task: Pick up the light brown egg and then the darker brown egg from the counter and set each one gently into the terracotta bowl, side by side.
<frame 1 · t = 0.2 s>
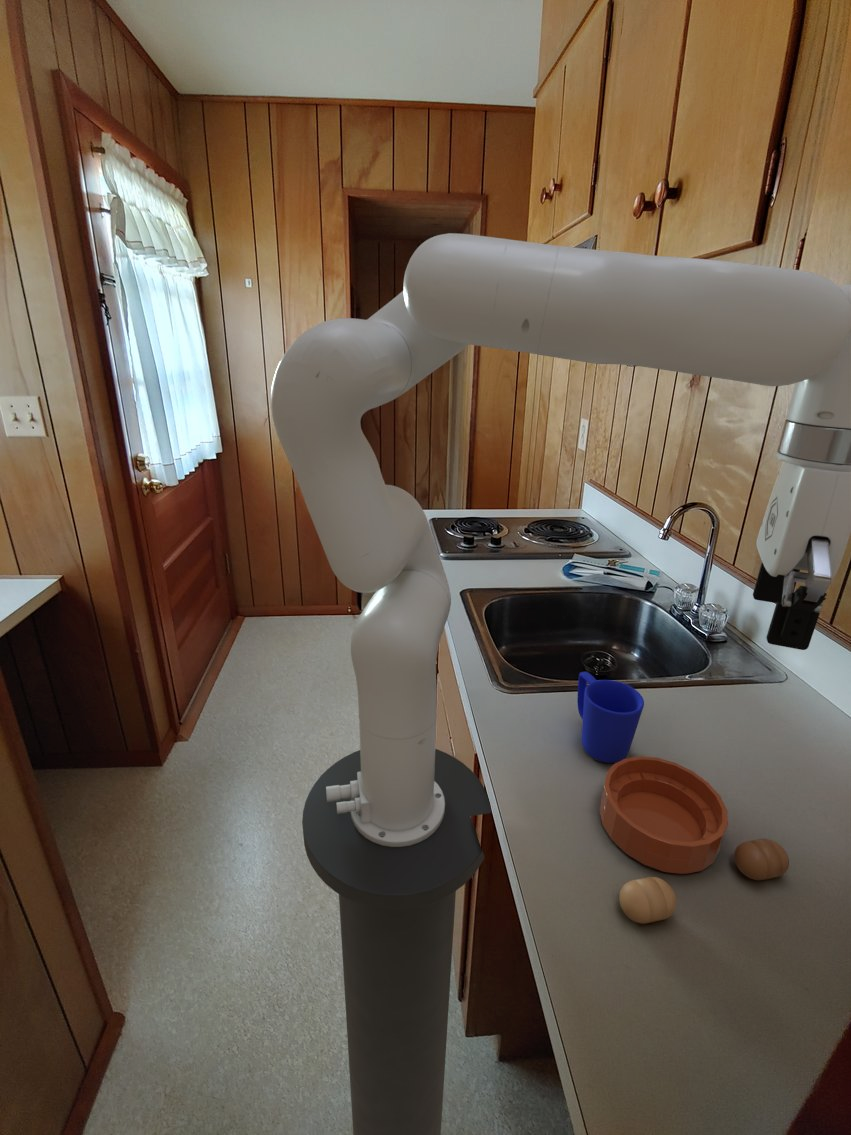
hand: (777, 621, 54), 32 cm above the worktop, tool pointing down, fingers open, 9 cm apart
bowl: (656, 826, 70), on the worktop
egg dark: (756, 871, 65), on the worktop
egg light: (644, 912, 60), on the worktop
mug: (596, 743, 85), on the worktop
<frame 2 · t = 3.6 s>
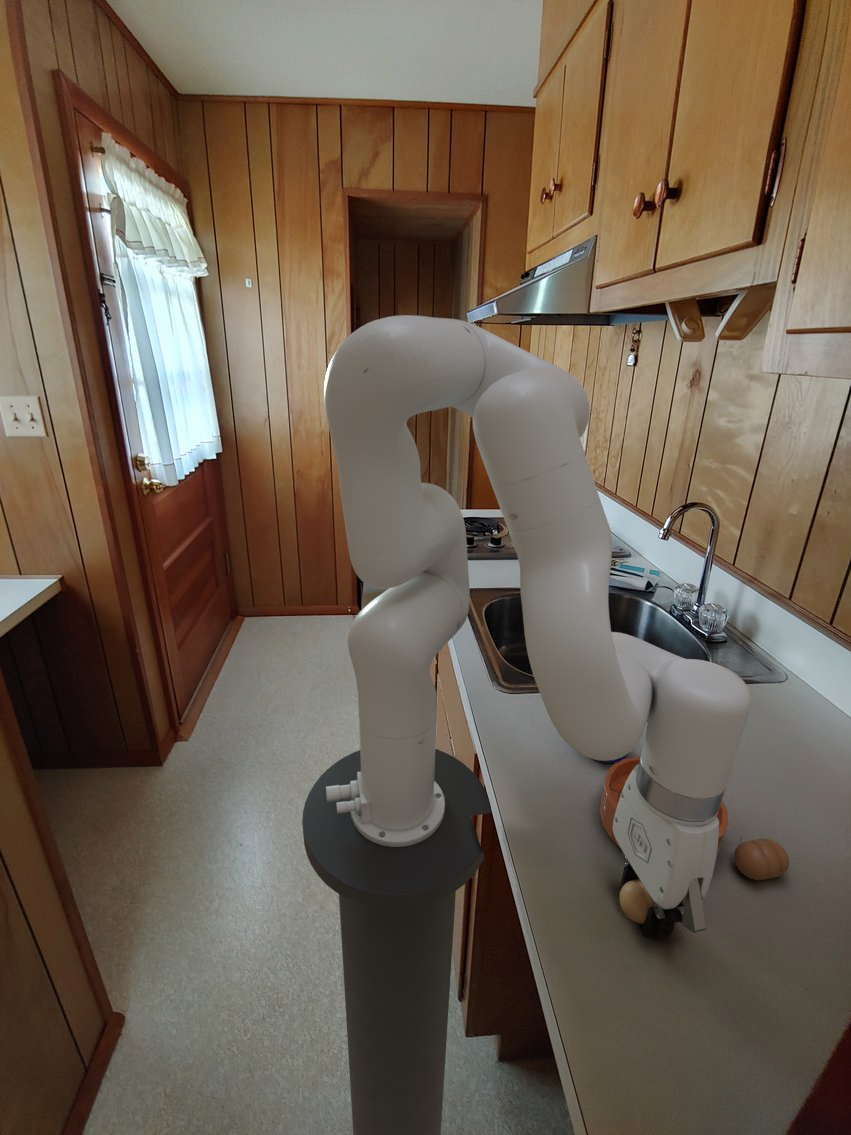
hand: (644, 910, 60), 0 cm above the worktop, tool pointing down, fingers closed on egg light, 4 cm apart
egg light: (644, 912, 60), on the worktop, touching gripper
everything else where it was.
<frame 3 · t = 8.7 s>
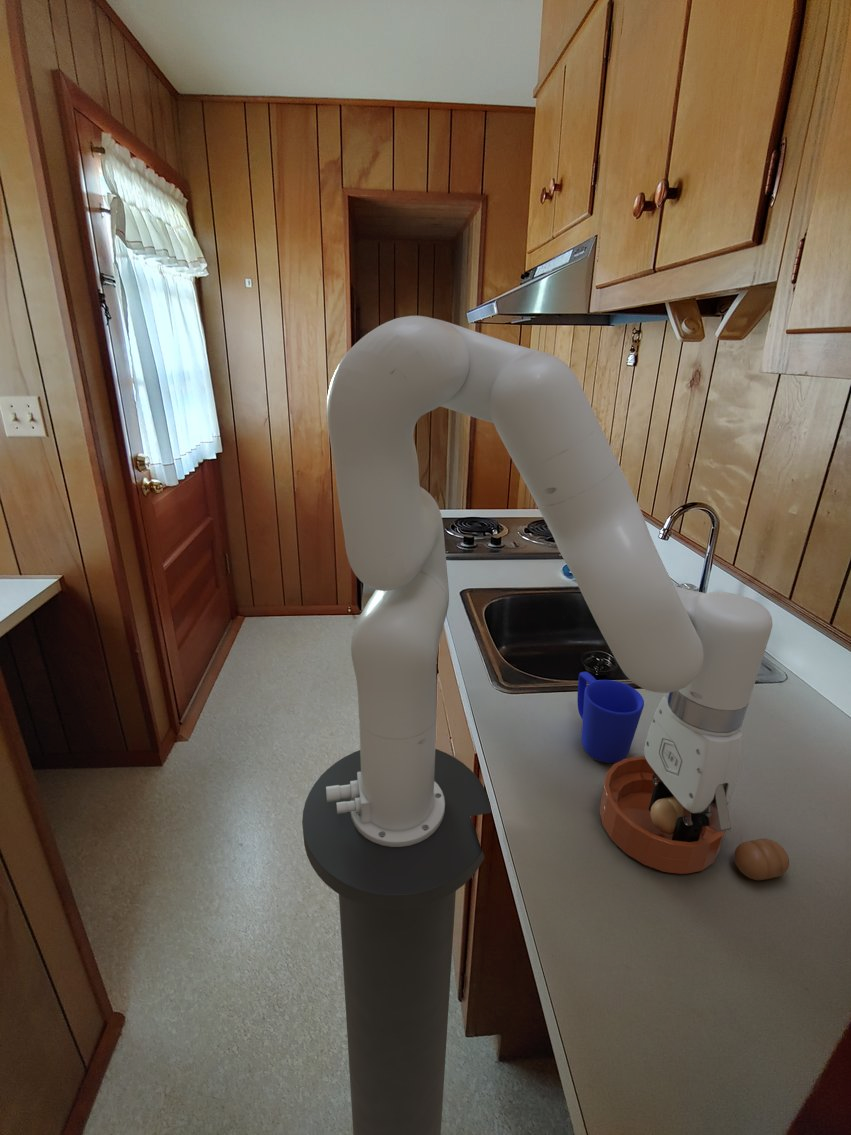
hand: (672, 824, 67), 3 cm above the worktop, tool pointing down, fingers closed on egg light, 4 cm apart
egg light: (672, 826, 67), point 3 cm above the worktop, touching gripper
everything else where it was.
when the fingers open (5 cm above the worktop, at t = 16.9 s): egg light drops 4 cm, resting on bowl.
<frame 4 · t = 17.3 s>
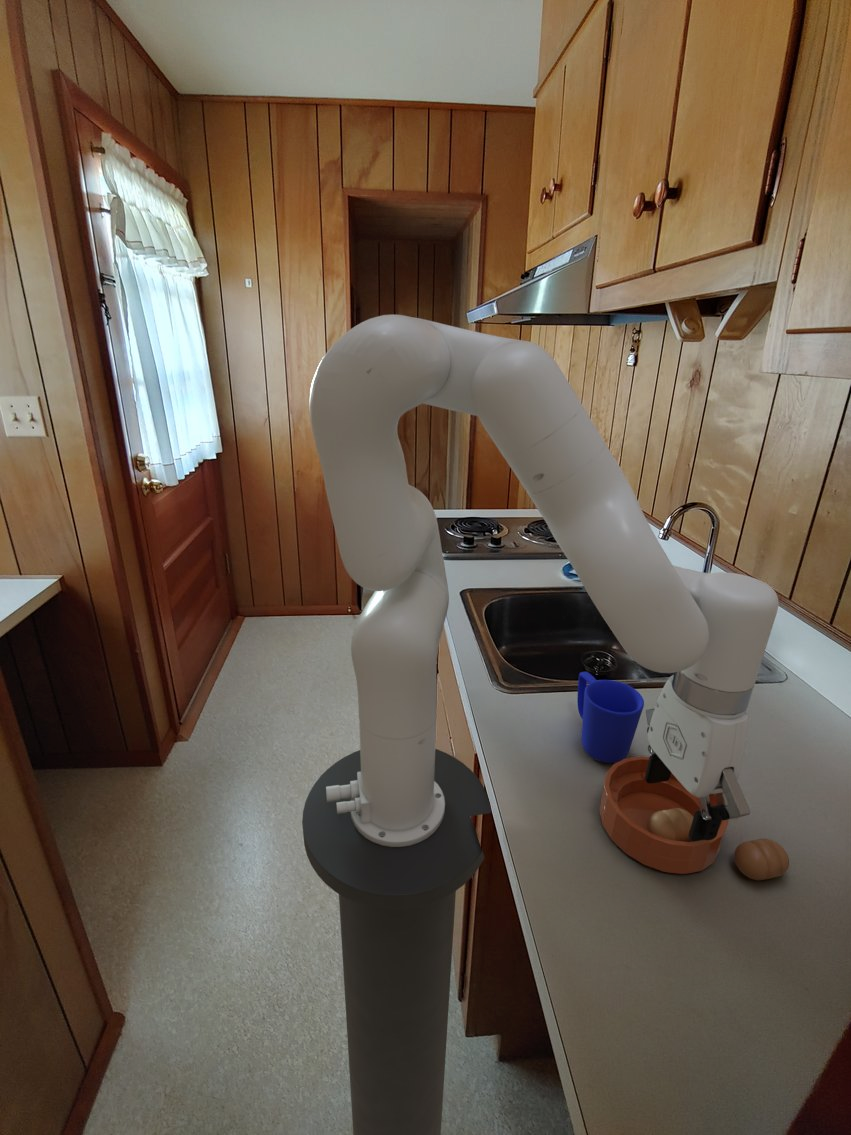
hand: (678, 806, 66), 6 cm above the worktop, tool pointing down, fingers open, 8 cm apart
egg light: (670, 840, 68), point 1 cm above the worktop, touching bowl
everything else where it was.
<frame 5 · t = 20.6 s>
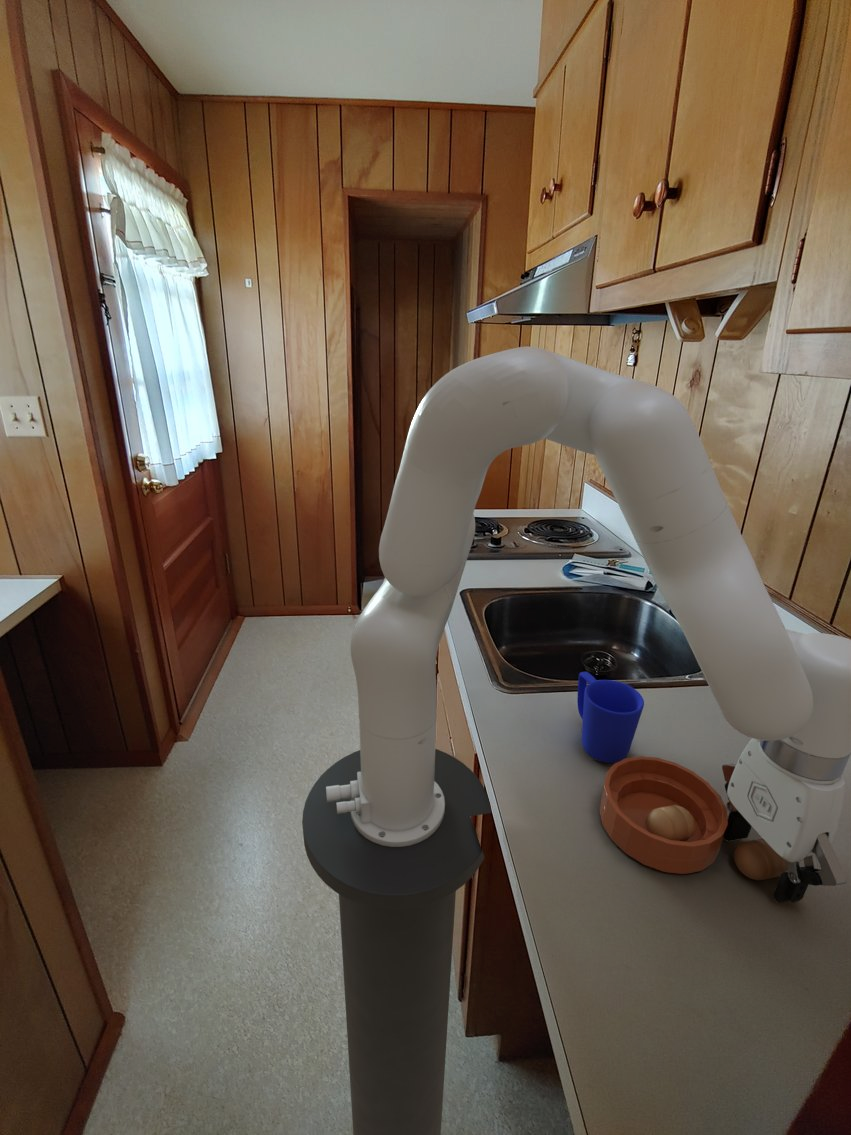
hand: (759, 865, 64), 1 cm above the worktop, tool pointing down, fingers open, 7 cm apart
egg light: (670, 839, 68), point 1 cm above the worktop, tilted 17°, touching bowl
everything else where it was.
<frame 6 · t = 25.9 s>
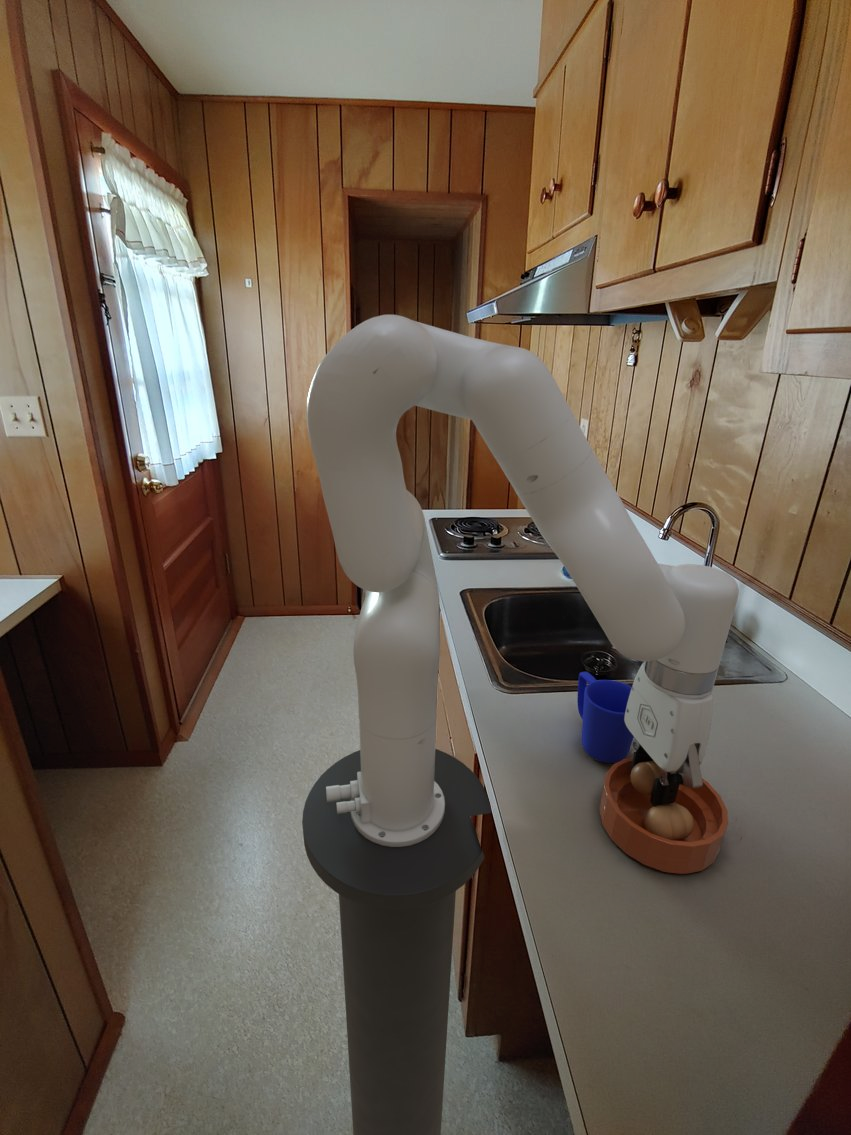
hand: (651, 787, 71), 4 cm above the worktop, tool pointing down, fingers closed on egg dark, 4 cm apart
egg dark: (651, 789, 71), point 4 cm above the worktop, touching gripper
egg light: (670, 838, 68), point 1 cm above the worktop, tilted 26°, touching bowl
everything else where it was.
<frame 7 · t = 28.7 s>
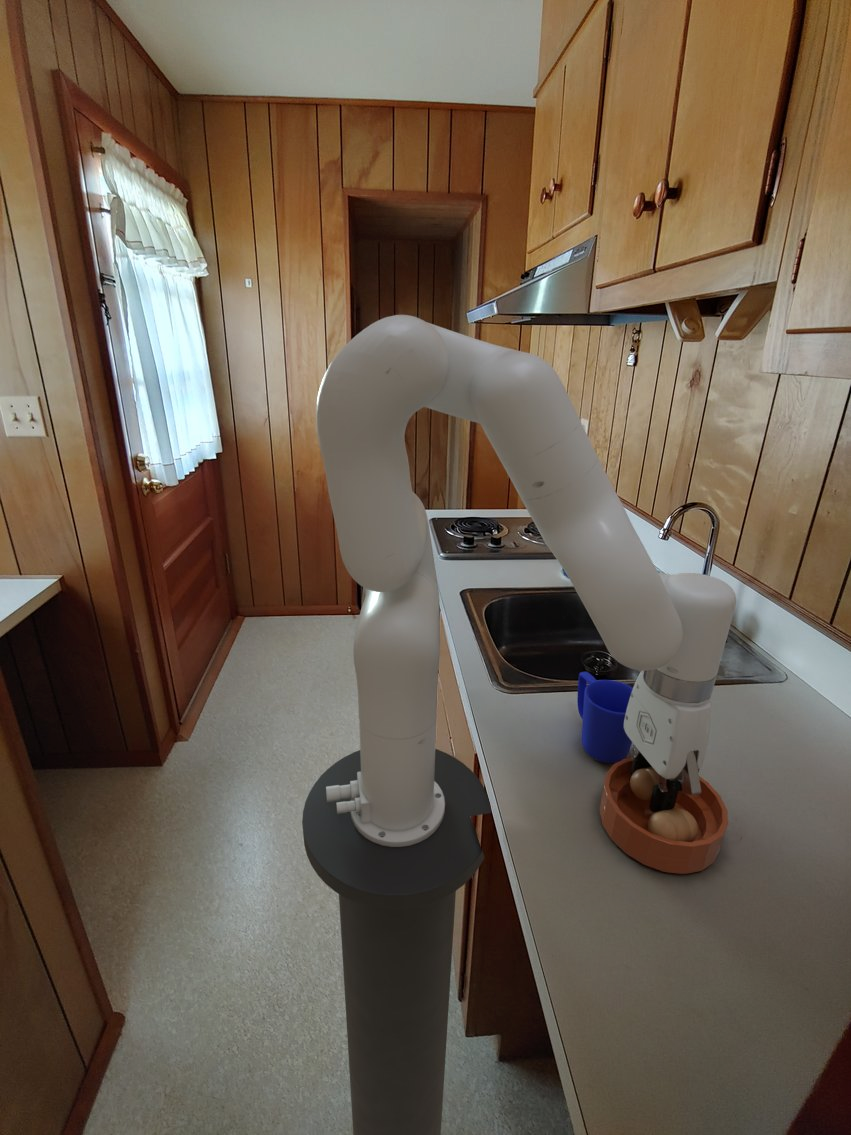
hand: (650, 793, 72), 3 cm above the worktop, tool pointing down, fingers closed on egg dark, 4 cm apart
egg dark: (650, 795, 72), point 3 cm above the worktop, touching gripper
egg light: (670, 840, 68), point 1 cm above the worktop, touching bowl, gripper
everything else where it was.
when the fingers open (5 cm above the worktop, at t = 33.2 s): egg dark drops 4 cm, resting on bowl.
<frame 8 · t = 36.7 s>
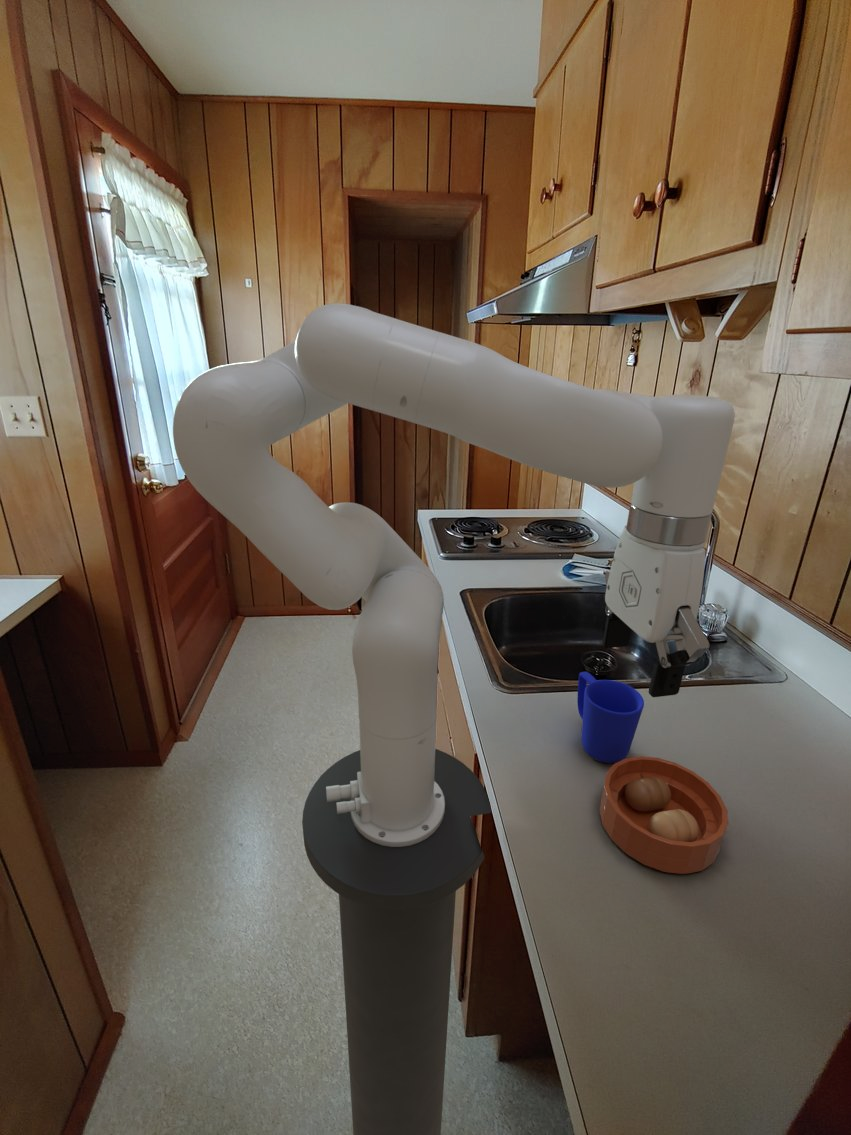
hand: (637, 668, 62), 23 cm above the worktop, tool pointing down, fingers open, 9 cm apart
egg dark: (647, 807, 72), point 1 cm above the worktop, tilted 15°, touching bowl
egg light: (670, 840, 68), resting on bowl
everything else where it was.
at the end: egg light inside the target area in the bowl (2.6 cm from its centre), point 0.5 cm above the bowl's base; egg dark inside the target area in the bowl (2.4 cm from its centre), point 0.6 cm above the bowl's base; mug moved 0.2 cm from its start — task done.
